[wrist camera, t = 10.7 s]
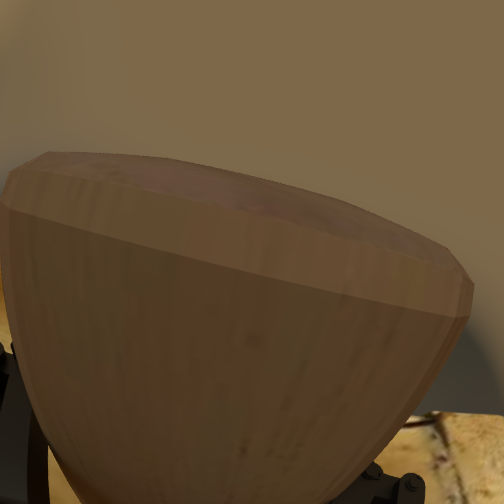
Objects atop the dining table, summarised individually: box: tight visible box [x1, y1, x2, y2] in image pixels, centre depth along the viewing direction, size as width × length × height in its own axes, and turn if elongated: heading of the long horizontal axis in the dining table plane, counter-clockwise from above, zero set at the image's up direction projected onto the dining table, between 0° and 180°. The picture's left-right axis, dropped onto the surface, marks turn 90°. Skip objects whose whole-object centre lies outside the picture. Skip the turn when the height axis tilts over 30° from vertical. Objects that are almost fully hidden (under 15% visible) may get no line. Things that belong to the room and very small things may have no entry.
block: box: [0, 152, 474, 504], centre depth 11 cm, size 10×10×20 cm
